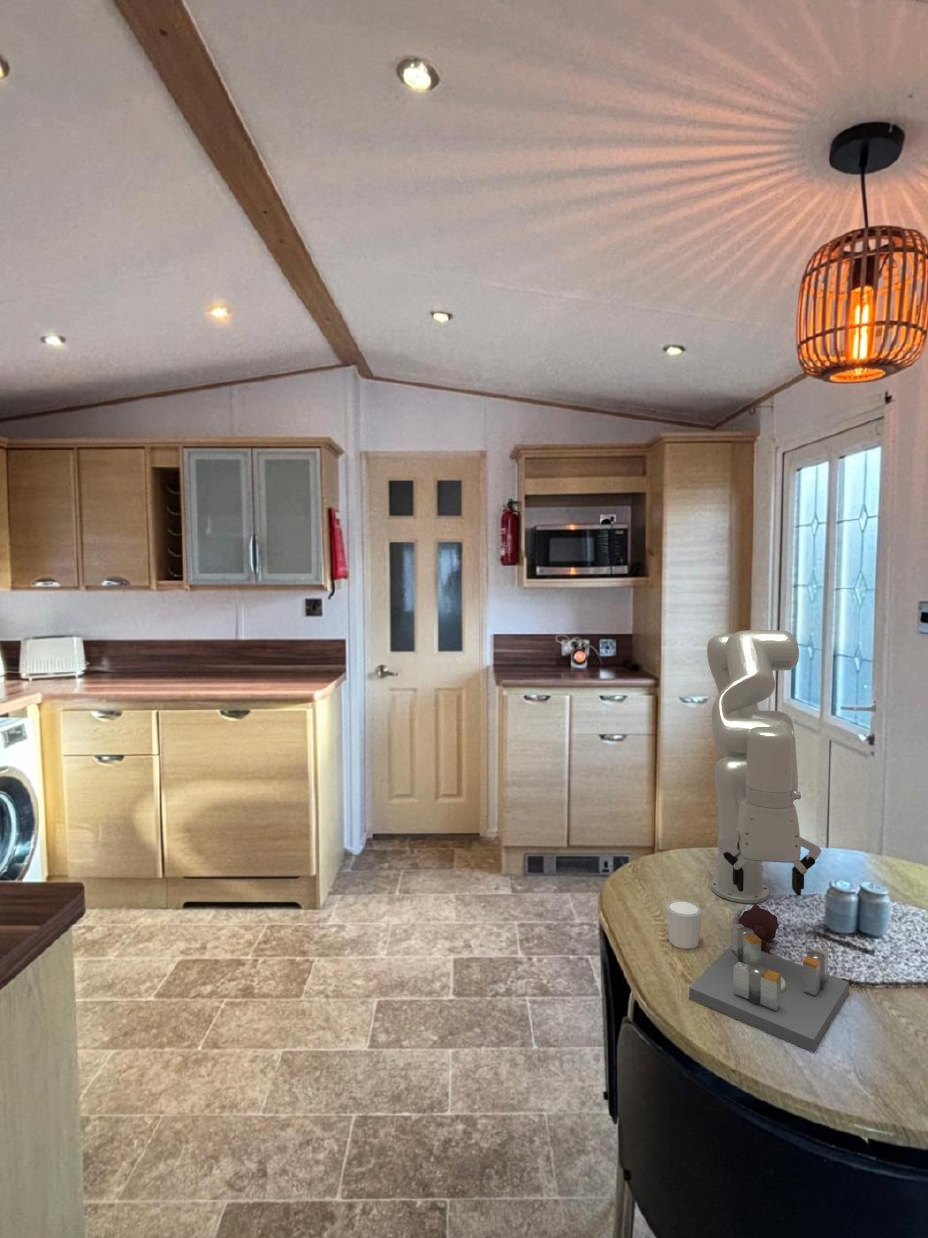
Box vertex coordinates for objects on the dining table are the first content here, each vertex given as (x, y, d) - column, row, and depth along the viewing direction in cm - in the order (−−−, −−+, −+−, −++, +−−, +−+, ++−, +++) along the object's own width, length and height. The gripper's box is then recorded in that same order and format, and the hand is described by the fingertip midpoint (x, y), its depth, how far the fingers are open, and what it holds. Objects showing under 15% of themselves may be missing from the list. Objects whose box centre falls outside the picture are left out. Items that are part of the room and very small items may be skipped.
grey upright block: (728, 948, 129) (729, 921, 129) (742, 947, 129) (743, 920, 129) (748, 969, 122) (748, 941, 122) (762, 968, 123) (763, 940, 122)
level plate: (734, 951, 132) (734, 935, 132) (848, 993, 119) (849, 975, 118) (689, 998, 118) (689, 980, 118) (813, 1052, 104) (813, 1031, 104)
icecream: (732, 890, 144) (737, 931, 130) (769, 887, 142) (778, 928, 128) (741, 921, 145) (746, 965, 131) (778, 918, 142) (787, 962, 128)
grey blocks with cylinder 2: (812, 972, 121) (813, 943, 121) (830, 978, 119) (830, 949, 119) (800, 990, 116) (800, 960, 116) (818, 996, 114) (818, 966, 114)
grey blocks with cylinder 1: (732, 994, 115) (732, 964, 115) (738, 987, 117) (739, 957, 117) (775, 1012, 110) (775, 980, 110) (781, 1004, 112) (781, 973, 112)
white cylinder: (704, 952, 132) (704, 917, 132) (667, 949, 134) (667, 914, 133) (699, 934, 139) (699, 901, 139) (664, 931, 140) (664, 898, 140)
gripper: (814, 792, 123) (812, 884, 124) (714, 788, 127) (713, 878, 127) (828, 806, 116) (826, 903, 117) (721, 801, 119) (721, 896, 120)
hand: (767, 890), depth 122 cm, fingers open, 9 cm apart
